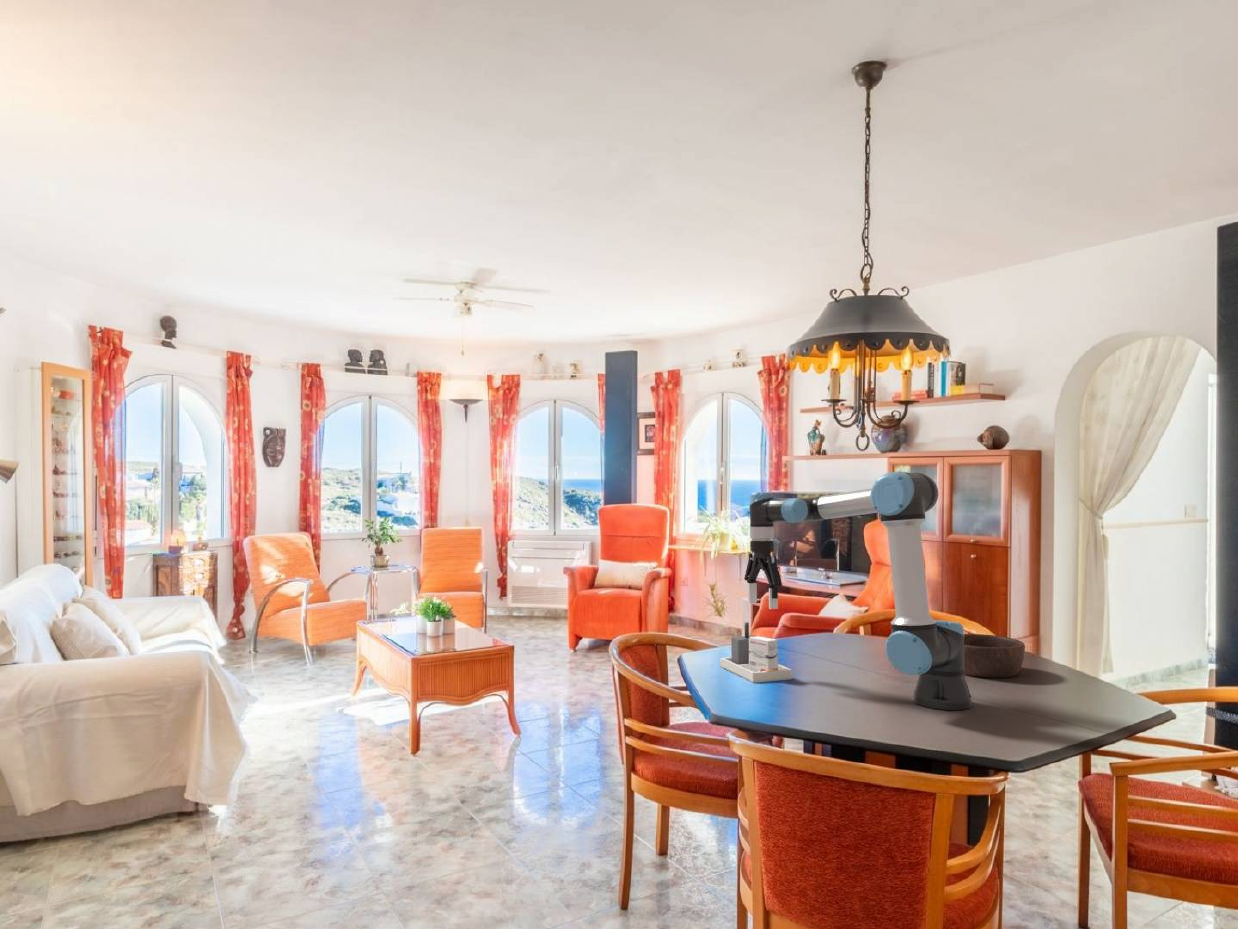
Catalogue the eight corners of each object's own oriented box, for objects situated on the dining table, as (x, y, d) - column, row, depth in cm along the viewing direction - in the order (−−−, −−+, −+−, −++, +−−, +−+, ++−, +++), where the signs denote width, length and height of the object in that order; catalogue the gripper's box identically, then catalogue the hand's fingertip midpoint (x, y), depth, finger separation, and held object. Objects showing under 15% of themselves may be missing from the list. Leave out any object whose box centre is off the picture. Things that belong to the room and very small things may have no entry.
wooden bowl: (1040, 673, 249) (1040, 642, 250) (998, 684, 235) (998, 651, 236) (968, 660, 270) (968, 630, 270) (926, 669, 256) (925, 638, 256)
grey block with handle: (762, 668, 256) (762, 623, 256) (738, 670, 253) (738, 624, 253) (755, 665, 260) (755, 620, 261) (731, 667, 258) (731, 622, 258)
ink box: (778, 676, 244) (778, 639, 245) (768, 678, 241) (768, 641, 242) (758, 671, 251) (757, 635, 252) (748, 674, 248) (747, 637, 248)
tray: (792, 679, 243) (792, 668, 243) (752, 682, 238) (752, 672, 238) (757, 664, 264) (756, 654, 265) (720, 667, 260) (720, 657, 260)
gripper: (792, 541, 237) (793, 610, 236) (753, 537, 261) (754, 600, 260) (771, 542, 235) (772, 612, 234) (733, 538, 258) (734, 601, 258)
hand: (762, 606), depth 247 cm, fingers open, 13 cm apart
